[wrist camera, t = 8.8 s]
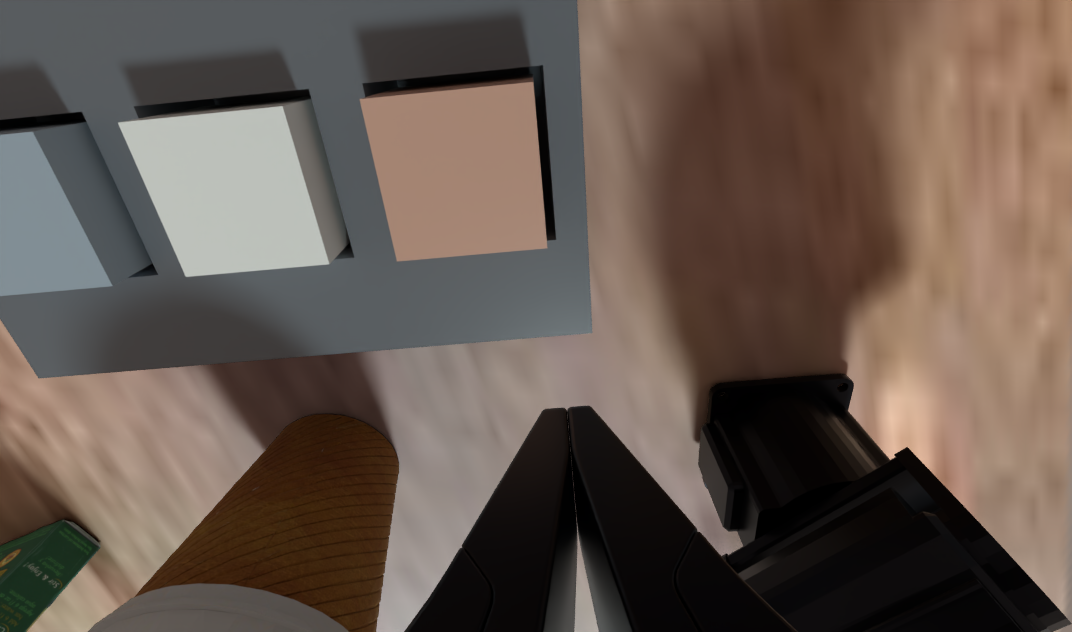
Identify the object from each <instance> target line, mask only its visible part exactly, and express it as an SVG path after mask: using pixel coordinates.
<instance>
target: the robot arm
mask: <svg viewBox="0 0 1072 632" xmlns="http://www.w3.org/2000/svg"><path fill="white" fill-rule="evenodd" d="M842 383H843V384H842ZM840 384H842V385H841V386H839V387H838V385H840ZM853 387H854V383H853V382H852V380H851V379H850V378H849V377H848V376H847V375H845V374H830V375H817V376H804V377H791V378H778V379H765V380H752V381H740V382H727V383H719V384H716V385H714V386H713V387H712V388H711V389H710V392H709V403H708V415H707V423H705V424H704V425H703V426H702V428H701V435H700V448H699V462H698V465H699V468H700V470H701V473H702V475H703V477H702V478H703V482H704V485H705V487H706V488H707V489H708V490H709V493H710V495H711V498H712V501H713V503H714V506H715V508H716V511H717V513H718V516H719V518H720V521H721V523H722V526H723V527H724V528H725V529H726V530H727V531H737V532H738V535H739V537H740V539H741V542H742V544H743V547H741V548H740V549H738V550H736V551H735V552H733V553H731V554H730V555H728V554H725V555H723V556H721V555H720V554H719V553H718V552H717V551H716V550H715V549H714V548H713V546H712V545H711V544H710V543H709V542H708V541H707V539H706V538H705V537H704V536H703V535H702V534H701V533H700V532H697V528H696V527H695V526H694V525H693V524H692V522H691V521H690V520H689V519H688V518H687V517H686V515H685V514H684V513H683V512H682V511H681V510H680V509H679V507H678V506H677V505H676V504H675V503H674V502H673V500H672V499H671V498H670V497H669V496H668V495H667V494H666V492H665V491H664V490H663V489H662V488H661V487H660V486H659V484H658V483H657V482H656V481H655V480H654V479H653V477H652V476H651V475H650V474H649V473H648V472H647V471H646V469H645V468H644V467H643V466H642V465H641V464H640V462H639V461H638V460H637V459H636V458H635V457H634V456H633V454H632V453H631V452H630V451H629V450H628V449H627V447H626V446H625V445H624V444H623V443H622V442H621V441H620V439H619V438H618V437H617V436H616V435H615V434H614V432H613V431H612V430H611V429H610V428H609V427H608V426H607V424H606V423H605V422H604V421H603V420H602V419H601V417H600V416H599V415H598V414H597V413H596V412H595V411H594V409H593V408H592V407H590V406H577V407H570V408H568V410H566V409H565V408H552V409H545V410H543V411H542V413H541V414H540V416H539V418H538V419H537V421H536V423H535V424H534V426H533V428H532V429H531V431H530V433H529V434H528V436H527V438H526V439H525V441H524V443H523V444H522V446H521V448H520V449H519V451H518V453H517V454H516V456H515V458H514V459H513V461H512V463H511V464H510V466H509V468H508V469H507V471H506V473H505V474H504V476H503V478H502V479H501V481H500V483H499V484H498V486H497V488H496V489H495V491H494V493H493V494H492V496H491V498H490V499H489V501H488V503H487V504H486V506H485V508H484V509H483V511H482V513H481V514H480V516H479V518H478V519H477V521H476V523H475V524H474V526H473V528H472V529H471V531H470V533H469V534H468V536H467V538H466V539H465V541H464V543H463V544H462V548H460V549H459V551H458V552H457V554H456V556H455V557H454V559H453V561H452V562H451V564H450V566H449V567H448V569H447V571H446V572H445V574H444V575H443V577H442V578H441V580H440V582H439V583H438V585H437V586H436V588H435V589H434V591H433V592H432V594H431V595H430V597H429V599H428V600H427V601H426V603H425V604H424V605H423V607H422V608H421V609H420V611H419V612H418V614H417V615H416V616H415V618H414V619H413V620H412V622H411V623H410V625H409V626H408V627H407V629H406V630H405V631H404V632H574V624H575V598H576V571H577V526H578V534H579V540H580V546H581V551H582V555H583V560H584V564H585V569H586V574H587V578H588V583H589V588H590V592H591V597H592V601H593V606H594V611H595V615H596V620H597V625H598V629H599V632H1053V631H1056V630H1058V629H1061V628H1063V627H1065V626H1067V625H1070V624H1071V622H1070V621H1069V620H1068V619H1067V618H1066V617H1065V615H1064V614H1063V613H1062V612H1061V611H1060V610H1059V609H1058V608H1057V607H1056V605H1055V604H1054V603H1053V602H1052V601H1051V600H1050V599H1049V598H1048V597H1047V595H1046V594H1045V593H1044V592H1043V591H1042V590H1041V589H1040V588H1039V587H1038V586H1037V585H1036V583H1035V582H1034V581H1033V580H1032V579H1031V578H1030V577H1029V576H1028V575H1027V574H1026V573H1025V571H1024V570H1023V569H1022V568H1021V567H1020V566H1019V565H1018V564H1017V563H1016V562H1015V561H1014V560H1013V558H1012V557H1011V556H1010V555H1009V554H1008V553H1007V552H1006V551H1005V550H1004V549H1003V548H1002V547H1001V545H1000V544H999V543H998V542H997V541H996V540H995V539H994V538H993V537H992V536H991V535H990V534H989V533H988V532H987V530H986V529H985V528H984V527H983V526H982V525H981V524H980V523H979V522H978V521H977V520H976V519H975V518H974V517H973V516H972V514H971V513H970V512H969V511H968V510H967V509H966V508H965V507H964V506H963V505H962V504H961V503H960V502H959V501H958V500H957V499H956V498H955V497H954V496H953V495H952V493H951V492H950V491H949V490H948V489H947V488H946V487H945V486H944V485H943V484H942V483H941V482H940V481H939V480H938V479H937V478H936V477H935V476H934V475H933V473H932V472H931V471H930V470H929V469H928V468H927V467H926V466H925V465H924V464H923V463H922V462H921V461H920V460H919V459H918V458H917V457H916V456H915V455H914V454H913V452H912V451H911V450H910V449H909V448H908V447H906V448H905V449H903V450H901V451H900V452H898V453H896V454H894V455H895V458H893V459H892V460H890V459H889V458H888V457H887V456H886V454H885V453H884V452H883V451H882V450H881V449H880V448H879V446H878V445H877V444H876V443H875V442H874V441H873V439H872V438H871V437H870V436H869V435H868V434H867V432H866V431H865V430H864V429H863V428H862V427H861V426H860V424H859V423H858V422H857V421H856V420H855V419H854V417H853V416H852V415H851V414H850V413H849V412H848V408H849V404H850V400H851V396H852V392H853ZM722 392H725V394H723V395H722V396H718V395H719V394H720V393H722ZM567 414H568V417H567ZM568 426H569V429H568ZM569 437H570V440H569ZM570 449H571V451H570ZM571 460H572V463H571ZM572 471H573V474H572ZM573 483H574V486H573ZM574 494H575V497H574ZM575 505H576V509H575ZM576 517H577V520H576Z"/></svg>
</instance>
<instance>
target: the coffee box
mask: <svg viewBox="0 0 1072 632" xmlns="http://www.w3.org/2000/svg"><path fill="white" fill-rule="evenodd" d="M99 549H100V544H99V543H98V542H97V541H96V540H95V539H94V538H93V537H91V536H90V535H89V534H88V533H87V532H85V531H84V530H83V529H81V528H80V527H79V526H78V525H76V524H75V523H74V522H69V521H66V520H60V521H58V522H56V523H54V524H51V525H49V526H44V527H42V528H40V529H37V530H36V531H34V532H33V533H30V534H28V535H25V536H23V537H20V538H18V539H15V540H13V541H10V542H8V543H6V544H3V545H1V546H0V632H27V631H28V630H29V628H30V627H31V626H32V625H33V624H34V623H35V621H36V620H37V619H38V618H39V617H40V616H41V615H42V613H43V612H44V611H45V610H46V609H47V608H48V607H49V606H50V605H51V604H52V603H53V602H54V601H55V599H56V598H57V597H58V595H59V594H60V593H61V592H62V591H63V590H64V589H65V588H66V587H67V585H68V584H69V583H70V582H71V580H72V579H73V578H74V577H75V576H76V575H77V574H78V572H79V571H80V570H81V569H82V568H83V567H84V566H85V565H86V563H87V562H88V561H89V560H90V559H91V558H92V557H93V556H94V554H95V553H96V552H97V551H98V550H99Z"/></svg>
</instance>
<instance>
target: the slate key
mask: <svg viewBox="0 0 1072 632" xmlns="http://www.w3.org/2000/svg"><path fill="white" fill-rule="evenodd" d="M150 264H152V261H151V258H150V256H149V254H148V252H147V250H146V248H145V246H144V243H143V241H142V239H141V237H140V235H139V233H138V231H137V229H136V226H135V224H134V222H133V220H132V218H131V216H130V214H129V211H128V209H127V207H126V205H125V203H124V201H123V199H122V196H121V194H120V192H119V190H118V188H117V186H116V184H115V181H114V179H113V177H112V175H111V173H110V171H109V169H108V166H107V164H106V162H105V160H104V158H103V156H102V154H101V152H100V149H99V147H98V145H97V143H96V141H95V139H94V137H93V134H92V132H91V130H90V128H89V126H88V124H87V122H86V119H77V120H67V121H57V122H47V123H37V124H27V125H17V126H7V127H1V128H0V296H7V295H18V294H30V293H41V292H52V291H64V290H75V289H86V288H98V287H109V286H114V285H116V284H117V283H119V282H121V281H123V280H124V279H126V278H128V277H129V276H131V275H133V274H135V273H136V272H138V271H140V270H142V269H143V268H145V267H147V266H149V265H150Z"/></svg>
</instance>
